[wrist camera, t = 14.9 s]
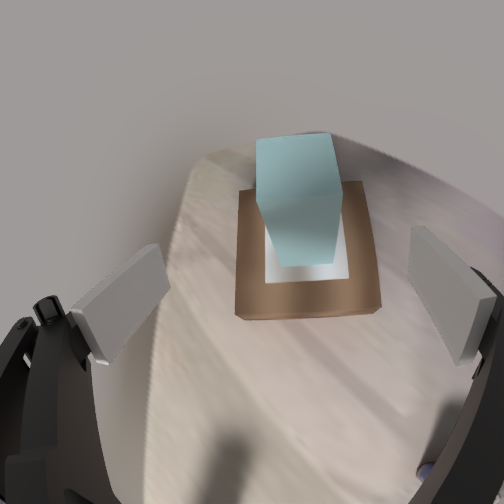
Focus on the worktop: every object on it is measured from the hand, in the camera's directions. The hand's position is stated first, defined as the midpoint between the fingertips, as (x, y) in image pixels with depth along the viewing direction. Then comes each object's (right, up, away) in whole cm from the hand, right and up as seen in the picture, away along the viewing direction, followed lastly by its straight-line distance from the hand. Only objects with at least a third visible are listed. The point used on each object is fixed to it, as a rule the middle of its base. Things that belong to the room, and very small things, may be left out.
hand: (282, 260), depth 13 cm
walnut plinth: (+5, 0, +18) cm, 18 cm away
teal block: (+4, +1, +14) cm, 14 cm away
